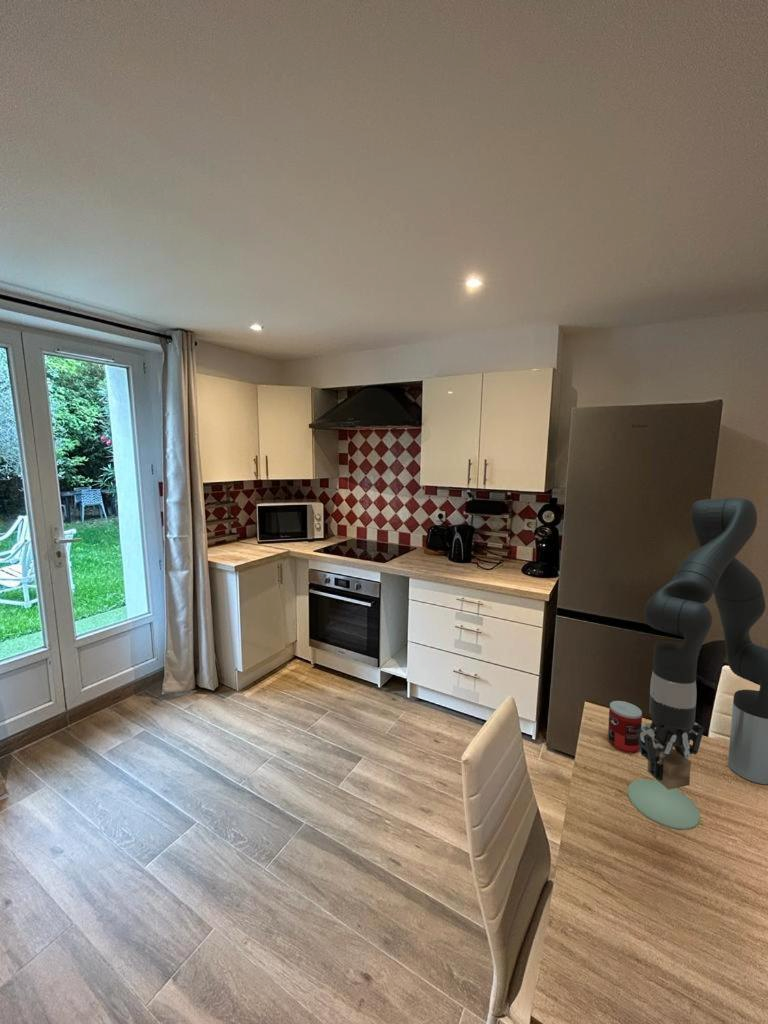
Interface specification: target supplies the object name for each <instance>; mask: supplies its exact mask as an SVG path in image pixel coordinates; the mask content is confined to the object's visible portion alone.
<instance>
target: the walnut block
mask: <svg viewBox="0 0 768 1024" xmlns="http://www.w3.org/2000/svg"><path fill="white" fill-rule="evenodd" d="M662 747H664V746H662ZM658 754H659V751H658V750H657V751H656V755H658ZM662 764H663V778H662V780H661V781H659V782H660V783H661V784H662V785H663V786H665V787H666V788H667V789H668V790H669V789H674V788H676V789H677V788H683V787H686V786H690V781H691V770H692V769H691V767H692V766H691V765H692V762H691V761H690V760H689V759H687V758H685V757H684V756H683V755H681V754H680V753H678V752H677V751H676V750H675V749H674V747H671V750H670V753H669V755H666V756H665V759H664V761H663V763H662ZM646 768H647V769H646V770H647V771H646V772H647V773H648V774H649V775H651V776H652V774H651V773H650V761H649V760H647V767H646ZM653 778H654V780H657V779H656V778H655V777H653Z"/></svg>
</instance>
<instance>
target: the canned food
mask: <svg viewBox="0 0 768 1024" xmlns="http://www.w3.org/2000/svg"><path fill="white" fill-rule="evenodd" d="M642 721H643V711H642V710H641V709H640V708H639V707H638V706H637V705H634V704H632V703H630V702H628V701H624V700H613V701H611V702H610V703H609V710H608V729H607V731H608V732H607V738H608V742H609V744H610V743H611V744H610V746H612V747H613V748H615V749H616V750H618V751H620V752H623V753H626V752H627V754H634V753H638V752H639V751H640V746H639V741H638V735H637V731H638V730H639V729H641V726H642V725H643V724H642V723H643V722H642Z"/></svg>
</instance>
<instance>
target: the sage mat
mask: <svg viewBox="0 0 768 1024" xmlns="http://www.w3.org/2000/svg"><path fill="white" fill-rule="evenodd" d="M627 788H628V789H627V795H628V798H629V801H630V802H631V804H632V805H633V807H634V808H635V809H636V810H637V811H638V812H639V813H641V814H642V816H644V817H646V818H647V819H649V820H651V821H652V822H654V823H657V824H659V825H661V826H662V827H663V826H664V827H666V828H670V829H674V830H685V831H686V830H691V829H694V828H696V827H697V826H698V825H699V823H700V819H701V814H700V811H699V808H698V807H697V805H696V804H695V802H694V801H693V800H692V799H690V797H689V796H688V795H686V794H685V793H683V792H682V791H680V790H679V789H677V788H674V789H669V790H668V789H667V788H666V787H665V786H663V785H662V784H661V783H660V782H659V781H658V780H656V779H648V778H645V779H644V778H643V779H642V778H641V779H635V780H634V781H632V782H630V783H629V786H628V787H627Z"/></svg>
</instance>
